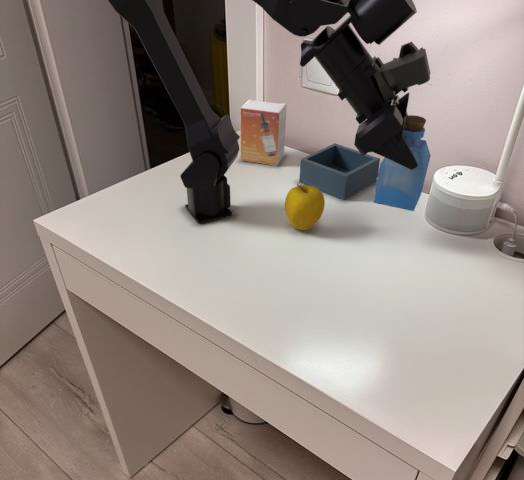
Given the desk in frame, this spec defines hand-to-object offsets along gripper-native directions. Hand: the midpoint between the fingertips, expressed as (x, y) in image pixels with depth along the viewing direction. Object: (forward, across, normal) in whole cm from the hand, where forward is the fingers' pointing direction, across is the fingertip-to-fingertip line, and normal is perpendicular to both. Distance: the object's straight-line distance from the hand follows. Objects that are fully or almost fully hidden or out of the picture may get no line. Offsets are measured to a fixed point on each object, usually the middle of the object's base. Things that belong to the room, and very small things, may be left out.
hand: (416, 158), depth 79 cm
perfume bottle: (+4, 0, +6) cm, 7 cm away
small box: (-11, +25, +30) cm, 41 cm away
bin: (+1, +18, +18) cm, 26 cm away
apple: (-1, -1, +21) cm, 21 cm away
